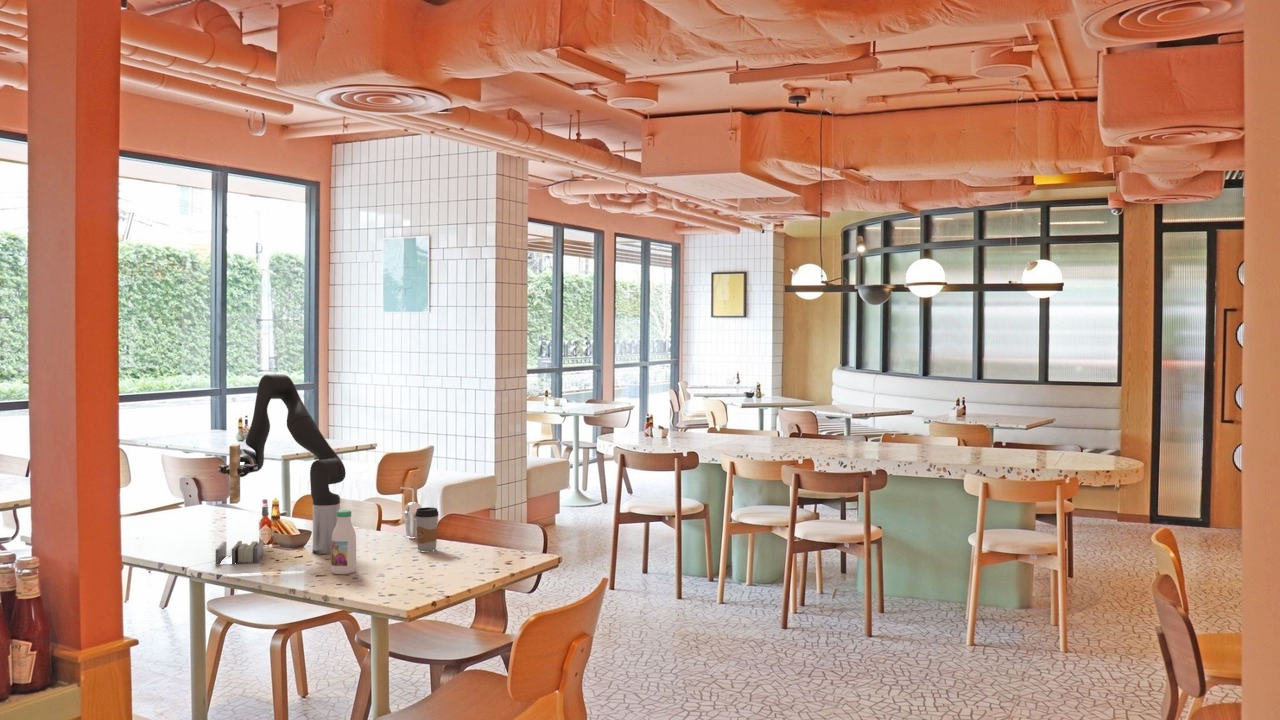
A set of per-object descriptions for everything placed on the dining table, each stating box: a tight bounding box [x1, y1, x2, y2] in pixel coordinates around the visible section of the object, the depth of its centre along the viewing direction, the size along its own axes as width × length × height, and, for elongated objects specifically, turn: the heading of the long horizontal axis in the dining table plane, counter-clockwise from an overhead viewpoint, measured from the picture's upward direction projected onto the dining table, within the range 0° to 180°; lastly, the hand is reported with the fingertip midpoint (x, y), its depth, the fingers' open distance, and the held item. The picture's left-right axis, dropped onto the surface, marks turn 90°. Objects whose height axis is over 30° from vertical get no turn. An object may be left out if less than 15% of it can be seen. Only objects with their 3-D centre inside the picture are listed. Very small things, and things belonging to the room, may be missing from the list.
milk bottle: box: [330, 509, 357, 575], centre depth 315 cm, size 8×8×20 cm
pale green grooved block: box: [238, 540, 259, 562], centre depth 329 cm, size 5×10×5 cm, turn 14°
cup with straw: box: [398, 486, 423, 540], centre depth 373 cm, size 8×9×20 cm
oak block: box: [228, 443, 241, 505], centre depth 338 cm, size 2×6×20 cm, turn 14°
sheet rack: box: [215, 539, 264, 565], centre depth 328 cm, size 13×14×6 cm
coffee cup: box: [415, 507, 440, 552], centre depth 350 cm, size 8×8×15 cm
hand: (233, 471), depth 336 cm, fingers closed on oak block, 2 cm apart
